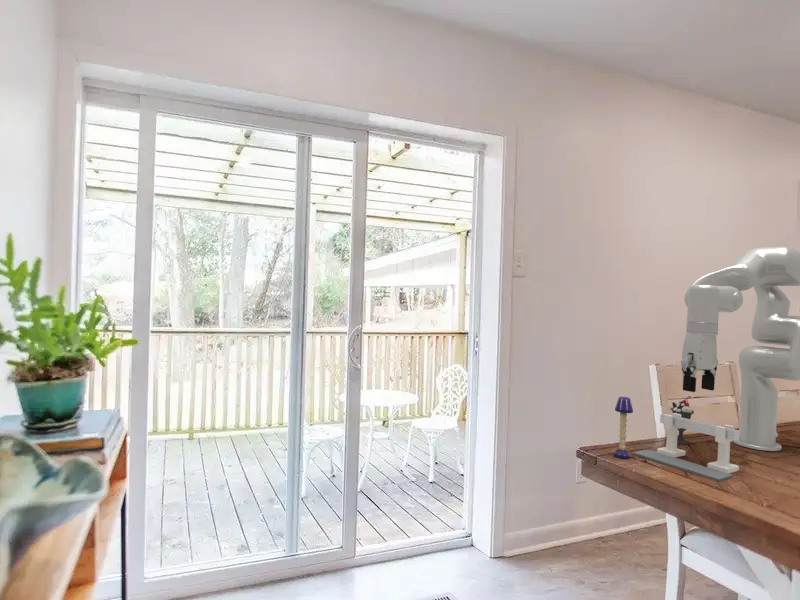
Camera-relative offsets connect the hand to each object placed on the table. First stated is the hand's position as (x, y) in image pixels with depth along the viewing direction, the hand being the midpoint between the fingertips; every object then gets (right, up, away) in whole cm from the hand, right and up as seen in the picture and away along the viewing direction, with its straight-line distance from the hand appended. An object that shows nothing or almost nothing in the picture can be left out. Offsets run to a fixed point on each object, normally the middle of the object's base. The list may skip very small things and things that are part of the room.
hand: (698, 390), depth 139 cm
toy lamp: (-20, -19, +2) cm, 28 cm away
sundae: (+6, -20, +20) cm, 29 cm away
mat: (-7, -20, -4) cm, 21 cm away
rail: (0, -10, 0) cm, 10 cm away
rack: (-1, -20, 0) cm, 20 cm away
